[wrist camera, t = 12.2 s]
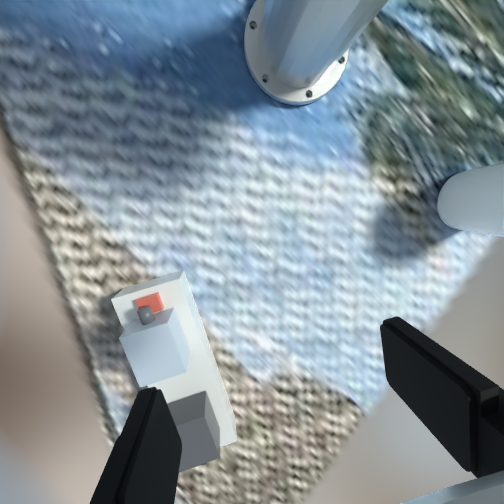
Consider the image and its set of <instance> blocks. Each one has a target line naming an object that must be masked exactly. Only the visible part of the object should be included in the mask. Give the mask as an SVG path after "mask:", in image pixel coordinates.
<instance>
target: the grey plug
mask: <svg viewBox="0 0 504 504" xmlns="http://www.w3.org/2000/svg"><path fill="white" fill-rule="evenodd" d="M137 313H138V316H139V319H136V320H132V321H131V323H130V324H129V325H128V327H127V328H126V329H125V331H124V332H123V333H122V335H121V336H120V337H119V340H120V342H121V344H122V347H123V349H124V351H125V354H126V356H127V358H128V361H129V363H130V365H131V368H132V370H133V372H134V375H135V377H136V379H137V382H138V384H139V386H140V388H141V387H144V386H147V385H150V384H153V383H156V382H159V381H162V380H165V379H168V378H171V377H174V376H177V375H180V374H183V373H186V372H187V367H188V361H189V356H190V349H189V346H188V344H187V341H186V338H185V335H184V333H183V330H182V327H181V325H180V322H179V319H178V316H177V314H176V311H175V308H171V309H168V310H164V311H161V312H158V313H155V314H153V312H152V309H151V307H150V305H147V306H144V307H141V308H139V309H138V310H137Z"/></svg>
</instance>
